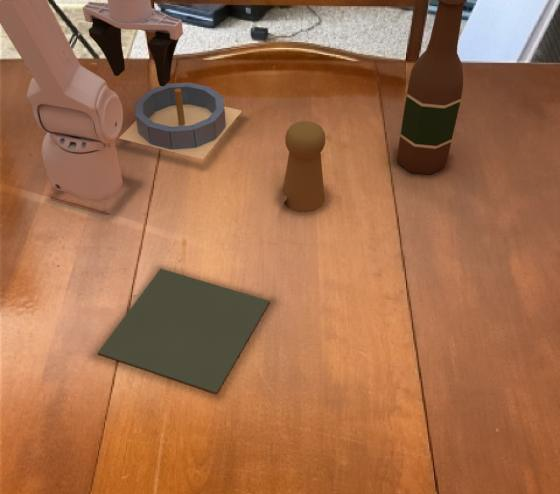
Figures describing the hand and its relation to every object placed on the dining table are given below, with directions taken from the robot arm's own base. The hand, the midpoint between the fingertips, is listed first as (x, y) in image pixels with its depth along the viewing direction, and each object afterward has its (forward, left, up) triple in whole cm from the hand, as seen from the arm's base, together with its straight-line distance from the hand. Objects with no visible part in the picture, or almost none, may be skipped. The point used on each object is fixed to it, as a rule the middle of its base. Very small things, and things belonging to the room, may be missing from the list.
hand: (142, 77), depth 100 cm
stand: (+6, 0, -8) cm, 10 cm away
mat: (+25, -36, -8) cm, 44 cm away
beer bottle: (+42, +7, -8) cm, 43 cm away
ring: (+6, 0, -6) cm, 8 cm away
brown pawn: (+29, -8, -8) cm, 31 cm away
